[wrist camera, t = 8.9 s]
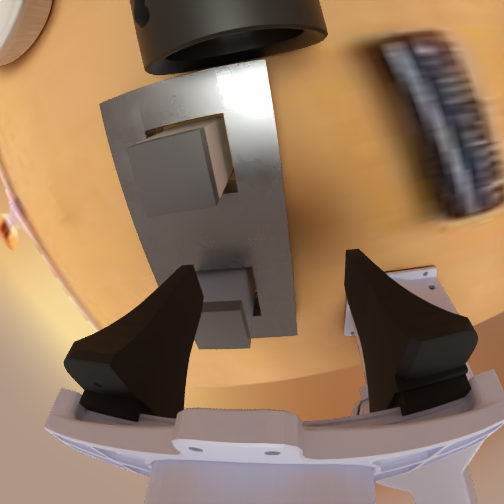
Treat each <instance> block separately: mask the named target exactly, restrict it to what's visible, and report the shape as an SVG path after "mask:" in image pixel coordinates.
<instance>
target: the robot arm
mask: <svg viewBox="0 0 504 504" xmlns="http://www.w3.org/2000/svg"><path fill="white" fill-rule="evenodd" d="M437 272H438V270H437V268H436V267H426V268H419V269H412V270H404V271H396V272H388V273H385V272H383V271H382V270H381V269H380V268H379V267H378V266H377V265H375V264H374V263H373V262H372V261H371V260H370V259H369V258H368V257H367V256H366V255H365V254H364V253H363V252H361V251H360V250H359V249H352V250H346V263H345V283H344V286H345V291H346V296H347V302H346V313H345V323H344V335H345V336H356V340H357V344H358V348H359V352H360V357H361V361H362V366H363V370H364V375H365V380H366V385H365V386H363V387H361V388H360V395H361V400H360V401H358V402H357V403H355V405H354V406H353V409H352V412H351V416H349V417H342V418H334V419H326V420H316V421H304V422H302V420H301V419H300V418H299V417H298V416H297V415H296V414H294V413H291V412H288V411H285V410H273V409H211V408H186V409H184V397H185V386H186V377H187V369H188V363H189V357H190V353H191V349H192V345H193V342H194V338H195V335H196V331H197V328H198V324H199V321H200V317H201V313H202V307H203V299H204V295H203V292H202V289H201V286H200V284H199V281H198V277H197V274H196V271H195V268H194V265H193V264H192V265H182V266H180V267H179V268H178V269H177V270H176V271H175V272H174V273H173V274H172V275H171V276H170V277H169V278H168V279H167V280H166V281H165V282H164V283H162V284H161V285H160V286H159V287H158V288H157V289H156V290H155V291H154V292H153V293H152V294H151V295H150V296H149V297H148V298H146V299H145V300H144V301H143V302H142V303H141V304H140V305H138V306H137V307H136V308H134V309H133V310H132V311H130V312H129V313H128V314H126V315H125V316H123V317H122V318H120V319H119V320H117V321H116V322H114V323H113V324H111V325H109V326H108V327H106V328H104V329H102V330H100V331H98V332H96V333H94V334H92V335H90V336H87V337H85V338H83V339H81V340H78V341H75V342H74V343H73V345H72V347H71V349H70V351H69V353H68V354H67V356H66V358H65V360H64V366H65V368H66V370H67V372H68V373H69V374H70V375H71V377H72V378H73V379H75V381H76V382H77V383H78V384H79V385H80V386H81V387H82V388H83V389H84V392H83V395H81V394H79V393H77V392H75V391H71V390H68V389H65V388H61V389H60V392H59V394H58V396H57V398H56V400H55V402H54V405H53V407H52V409H51V411H50V414H49V416H48V418H47V421H46V423H45V426H44V429H45V430H47V431H48V432H49V433H51V434H52V435H54V436H55V437H56V438H58V439H60V440H61V441H63V442H64V443H65V444H67V445H68V446H70V447H71V448H73V449H74V450H76V451H79V452H81V453H84V454H86V455H88V456H91V457H93V458H96V459H99V460H101V461H104V462H106V463H109V464H111V465H114V466H117V467H120V468H123V469H126V470H128V471H132V472H135V473H138V474H141V475H144V476H148V477H150V478H149V482H148V487H147V491H146V496H145V501H144V504H376V500H375V487H374V482H377V483H378V484H381V485H384V486H388V487H391V488H395V489H400V490H404V491H407V492H410V493H412V495H413V498H414V501H415V504H478V502H477V497H476V494H475V489H474V486H473V482H472V478H471V475H470V471H469V467H468V464H469V462H470V461H471V459H472V458H473V456H474V455H475V453H476V452H477V451H478V449H479V448H480V446H481V444H482V443H483V441H484V440H485V439H486V438H487V437H488V436H490V435H491V434H492V433H493V432H495V431H496V430H497V429H498V428H500V427H501V426H502V425H503V424H504V392H503V389H502V387H501V384H500V382H499V379H498V377H497V375H496V373H495V370H494V369H490V370H487V371H485V372H483V373H480V374H477V375H475V376H474V375H473V373H472V371H471V369H470V367H469V364H468V363H467V360H468V359H469V357H470V356H471V354H472V352H473V351H474V349H475V347H476V345H477V341H478V336H477V333H476V331H475V330H474V328H473V326H472V324H471V322H470V321H469V319H468V318H467V317H464V316H461V315H459V314H458V312H457V310H456V308H455V307H454V305H453V303H452V302H451V300H450V298H449V297H448V295H447V293H446V292H445V290H444V288H443V287H442V285H441V284H440V282H439V281H438V279H437V277H436V276H437Z"/></svg>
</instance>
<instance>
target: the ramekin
mask: <svg viewBox="0 0 504 504" xmlns="http://www.w3.org/2000/svg"><path fill="white" fill-rule="evenodd" d="M51 5H52V0H0V66H3V65H6V64H8V63H11V62H13V61H14V60H16V59H18V58H19V57H20V56H21V55H23V54H24V53H25V52H26V51H27V50H28V49H29V48H30V47H31V45H32V44H33V43H34V42H35V40H36V39H37V37H38V36H39V34H40V32H41V31H42V29H43V27H44V25H45V23H46V21H47V18H48V16H49V13H50V9H51Z"/></svg>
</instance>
